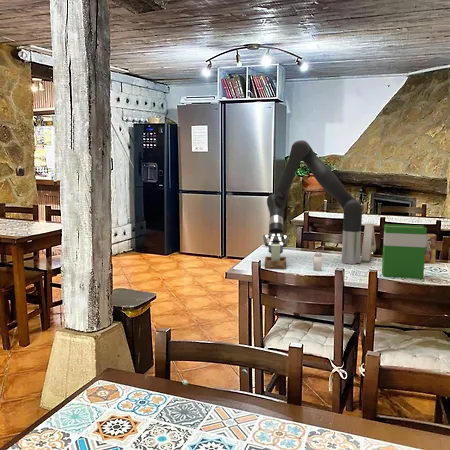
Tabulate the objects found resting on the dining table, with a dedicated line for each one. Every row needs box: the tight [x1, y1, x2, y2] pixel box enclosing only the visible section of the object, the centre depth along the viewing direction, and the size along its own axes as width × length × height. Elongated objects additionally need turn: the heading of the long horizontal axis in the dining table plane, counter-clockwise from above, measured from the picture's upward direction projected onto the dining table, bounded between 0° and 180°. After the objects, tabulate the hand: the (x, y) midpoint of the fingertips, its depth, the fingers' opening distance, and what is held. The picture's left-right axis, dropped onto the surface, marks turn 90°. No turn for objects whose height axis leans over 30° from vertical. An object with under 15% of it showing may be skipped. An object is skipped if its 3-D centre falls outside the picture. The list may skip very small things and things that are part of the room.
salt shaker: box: [313, 251, 323, 272], centre depth 226 cm, size 4×4×9 cm
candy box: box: [424, 233, 437, 264], centre depth 242 cm, size 9×4×15 cm, turn 81°
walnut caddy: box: [264, 256, 287, 270], centre depth 232 cm, size 11×10×4 cm
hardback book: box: [381, 223, 428, 280], centre depth 214 cm, size 18×7×24 cm, turn 77°
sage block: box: [270, 243, 281, 261], centre depth 232 cm, size 4×4×9 cm
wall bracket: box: [360, 223, 377, 263], centre depth 259 cm, size 22×4×30 cm
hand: (275, 252), depth 231 cm, fingers open, 4 cm apart
